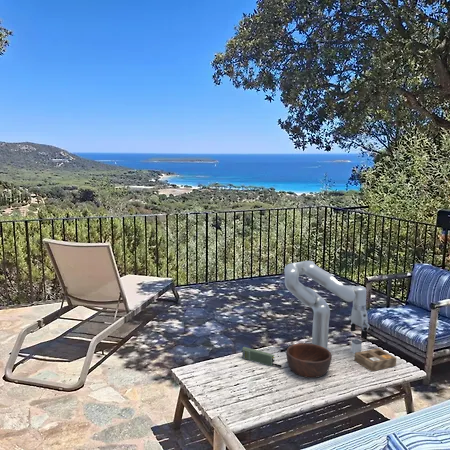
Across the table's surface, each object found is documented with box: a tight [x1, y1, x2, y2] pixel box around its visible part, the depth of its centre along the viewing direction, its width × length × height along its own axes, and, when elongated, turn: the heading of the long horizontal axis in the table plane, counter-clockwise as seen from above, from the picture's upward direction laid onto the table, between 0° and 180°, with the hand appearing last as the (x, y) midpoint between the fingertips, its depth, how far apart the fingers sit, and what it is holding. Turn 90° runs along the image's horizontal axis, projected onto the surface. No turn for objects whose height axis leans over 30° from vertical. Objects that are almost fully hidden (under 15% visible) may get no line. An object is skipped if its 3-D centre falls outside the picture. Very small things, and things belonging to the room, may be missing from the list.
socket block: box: [354, 347, 397, 372], centre depth 238 cm, size 18×14×5 cm
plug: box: [350, 338, 363, 355], centre depth 251 cm, size 4×4×8 cm
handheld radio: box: [241, 346, 283, 368], centre depth 236 cm, size 7×3×25 cm
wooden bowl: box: [285, 342, 333, 379], centre depth 229 cm, size 25×25×10 cm
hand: (358, 333), depth 250 cm, fingers open, 9 cm apart
